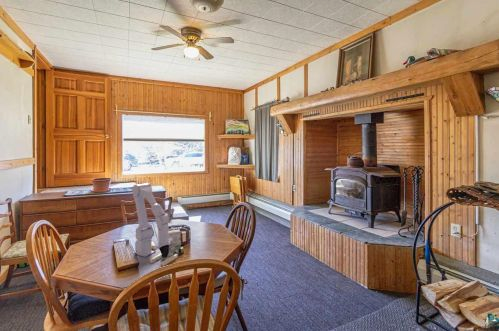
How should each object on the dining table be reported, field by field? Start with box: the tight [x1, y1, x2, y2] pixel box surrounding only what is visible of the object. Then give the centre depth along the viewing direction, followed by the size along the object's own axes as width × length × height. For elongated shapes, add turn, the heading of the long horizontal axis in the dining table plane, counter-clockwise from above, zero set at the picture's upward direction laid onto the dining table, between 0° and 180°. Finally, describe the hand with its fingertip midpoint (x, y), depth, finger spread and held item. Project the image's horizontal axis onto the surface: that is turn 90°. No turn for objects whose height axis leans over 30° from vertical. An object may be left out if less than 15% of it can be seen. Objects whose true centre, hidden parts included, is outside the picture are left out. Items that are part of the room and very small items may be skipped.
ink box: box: [168, 229, 182, 248], centre depth 172 cm, size 9×5×12 cm, turn 117°
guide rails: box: [149, 253, 179, 267], centre depth 155 cm, size 10×12×2 cm
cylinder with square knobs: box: [173, 245, 185, 256], centre depth 164 cm, size 6×8×4 cm
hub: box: [160, 247, 174, 260], centre depth 157 cm, size 5×5×6 cm
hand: (164, 257), depth 154 cm, fingers closed, pressing on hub
